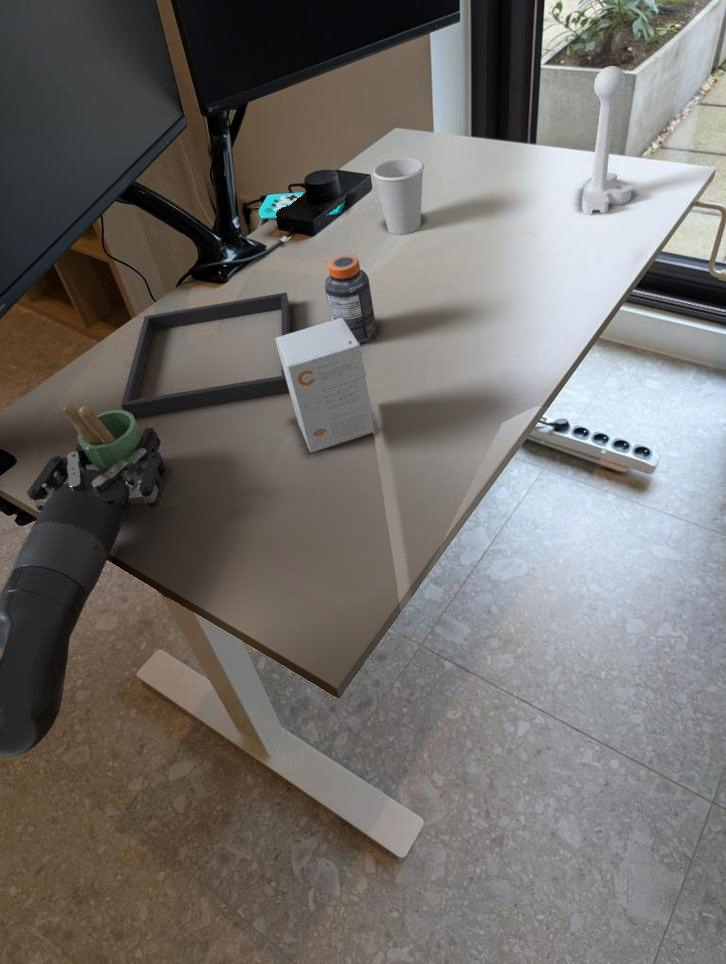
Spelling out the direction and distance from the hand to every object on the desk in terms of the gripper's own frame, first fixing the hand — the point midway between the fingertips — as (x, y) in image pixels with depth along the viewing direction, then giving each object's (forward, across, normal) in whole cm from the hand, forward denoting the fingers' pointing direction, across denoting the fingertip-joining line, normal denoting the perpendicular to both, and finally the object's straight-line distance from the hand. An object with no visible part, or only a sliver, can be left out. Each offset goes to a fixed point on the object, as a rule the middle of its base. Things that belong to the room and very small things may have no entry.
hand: (123, 434), depth 77 cm
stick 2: (-4, -1, -1) cm, 4 cm away
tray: (+22, -4, +6) cm, 23 cm away
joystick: (+62, -63, +6) cm, 88 cm away
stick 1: (-4, +1, -2) cm, 4 cm away
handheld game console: (+70, -9, +6) cm, 71 cm away
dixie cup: (+59, -29, +6) cm, 66 cm away
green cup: (-2, 0, +6) cm, 6 cm away
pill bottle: (+26, -23, +6) cm, 36 cm away
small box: (+6, -23, +6) cm, 24 cm away
